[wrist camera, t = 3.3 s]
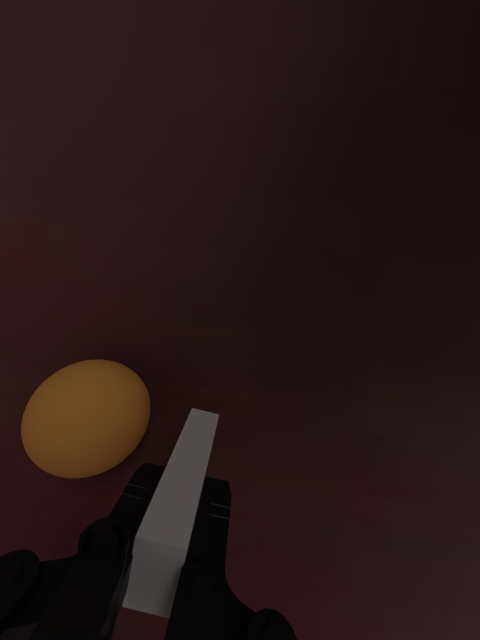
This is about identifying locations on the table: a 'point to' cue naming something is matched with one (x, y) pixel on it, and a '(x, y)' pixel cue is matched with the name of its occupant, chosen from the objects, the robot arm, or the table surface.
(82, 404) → the ball
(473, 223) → the table surface
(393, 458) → the table surface
